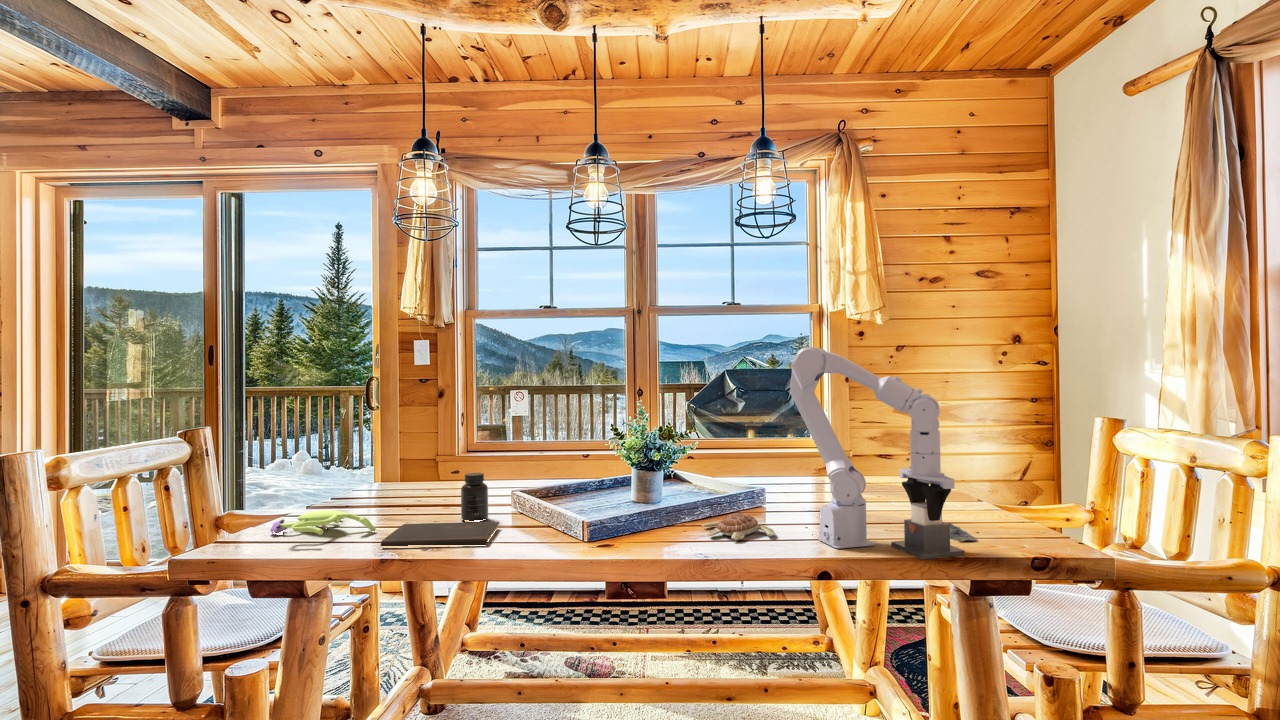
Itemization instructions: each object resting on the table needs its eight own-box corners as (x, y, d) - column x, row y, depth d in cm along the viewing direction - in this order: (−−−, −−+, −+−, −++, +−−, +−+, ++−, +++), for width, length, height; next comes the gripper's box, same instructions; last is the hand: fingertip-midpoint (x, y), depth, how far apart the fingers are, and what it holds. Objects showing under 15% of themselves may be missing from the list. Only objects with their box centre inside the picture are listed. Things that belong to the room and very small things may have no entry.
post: (925, 549, 132) (924, 507, 132) (911, 543, 136) (910, 503, 136) (943, 547, 133) (942, 505, 133) (928, 542, 137) (928, 501, 137)
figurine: (301, 553, 140) (301, 527, 140) (259, 533, 158) (259, 510, 158) (383, 536, 153) (383, 512, 154) (336, 519, 171) (336, 498, 172)
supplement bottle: (460, 518, 170) (460, 472, 170) (487, 516, 172) (486, 471, 172) (461, 524, 163) (461, 476, 164) (489, 521, 165) (488, 475, 166)
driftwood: (980, 545, 140) (980, 535, 140) (947, 544, 141) (947, 535, 141) (947, 524, 161) (946, 515, 161) (918, 523, 162) (918, 515, 162)
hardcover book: (404, 533, 157) (403, 523, 157) (499, 531, 158) (499, 521, 158) (380, 551, 141) (380, 541, 141) (486, 549, 142) (486, 538, 142)
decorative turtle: (787, 532, 153) (787, 511, 153) (759, 548, 139) (759, 525, 139) (719, 523, 163) (719, 503, 163) (686, 537, 149) (686, 515, 149)
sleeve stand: (922, 559, 129) (921, 529, 129) (891, 546, 138) (890, 518, 138) (964, 555, 131) (964, 525, 131) (931, 542, 141) (930, 515, 141)
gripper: (966, 456, 129) (968, 524, 129) (918, 447, 143) (920, 509, 143) (936, 457, 127) (937, 526, 127) (891, 449, 141) (892, 511, 141)
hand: (926, 517), depth 135 cm, fingers closed on post, 4 cm apart
